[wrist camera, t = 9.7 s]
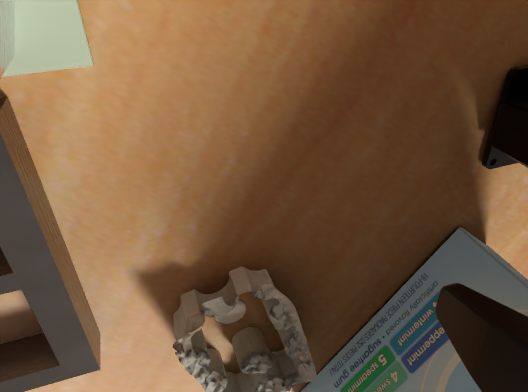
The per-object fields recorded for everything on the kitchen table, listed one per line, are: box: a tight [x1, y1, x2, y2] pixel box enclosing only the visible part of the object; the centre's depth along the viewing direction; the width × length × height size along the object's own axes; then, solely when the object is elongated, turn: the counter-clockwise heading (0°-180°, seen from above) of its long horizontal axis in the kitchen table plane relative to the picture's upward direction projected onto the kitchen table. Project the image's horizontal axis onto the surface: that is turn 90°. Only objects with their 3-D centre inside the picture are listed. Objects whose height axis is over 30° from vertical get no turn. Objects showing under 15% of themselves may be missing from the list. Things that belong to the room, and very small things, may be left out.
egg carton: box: [173, 267, 317, 392], centre depth 27 cm, size 10×7×4 cm
